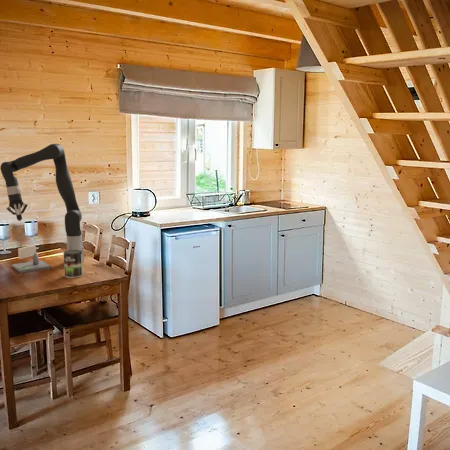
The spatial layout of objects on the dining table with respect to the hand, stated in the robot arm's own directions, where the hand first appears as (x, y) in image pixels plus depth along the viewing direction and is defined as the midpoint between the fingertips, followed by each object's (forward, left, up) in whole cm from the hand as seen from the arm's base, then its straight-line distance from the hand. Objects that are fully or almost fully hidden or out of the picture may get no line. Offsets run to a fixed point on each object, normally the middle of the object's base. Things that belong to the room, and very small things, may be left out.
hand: (19, 220), depth 322 cm
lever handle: (+1, +21, -25) cm, 32 cm away
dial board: (0, +19, -27) cm, 33 cm away
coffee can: (-15, +52, -27) cm, 61 cm away
